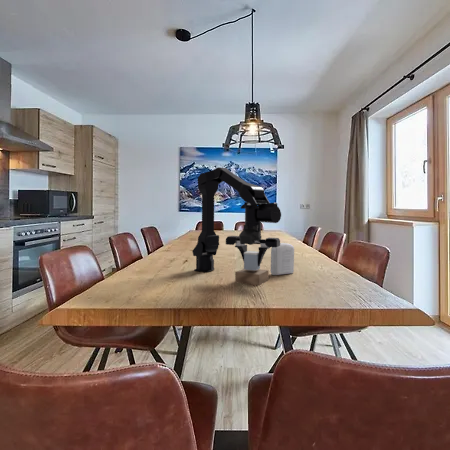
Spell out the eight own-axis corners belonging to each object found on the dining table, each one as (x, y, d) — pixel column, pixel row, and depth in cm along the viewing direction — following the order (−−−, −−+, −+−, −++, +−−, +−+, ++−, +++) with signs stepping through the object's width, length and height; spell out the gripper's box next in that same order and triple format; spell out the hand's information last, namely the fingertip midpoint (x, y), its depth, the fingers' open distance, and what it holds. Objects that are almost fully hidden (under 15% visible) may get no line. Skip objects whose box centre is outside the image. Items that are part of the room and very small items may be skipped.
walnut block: (235, 283, 120) (235, 272, 119) (245, 278, 128) (245, 267, 127) (259, 286, 115) (259, 274, 115) (268, 281, 123) (268, 270, 123)
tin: (243, 269, 120) (243, 252, 119) (247, 267, 124) (248, 250, 124) (256, 270, 118) (257, 253, 118) (260, 268, 122) (260, 251, 122)
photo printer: (287, 271, 140) (288, 241, 139) (295, 273, 137) (296, 242, 136) (268, 274, 134) (269, 243, 134) (276, 276, 131) (276, 244, 130)
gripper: (220, 221, 116) (219, 267, 117) (273, 223, 109) (272, 271, 110) (231, 220, 127) (230, 262, 127) (280, 222, 120) (279, 266, 121)
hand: (252, 265), depth 121 cm, fingers closed on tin, 5 cm apart
